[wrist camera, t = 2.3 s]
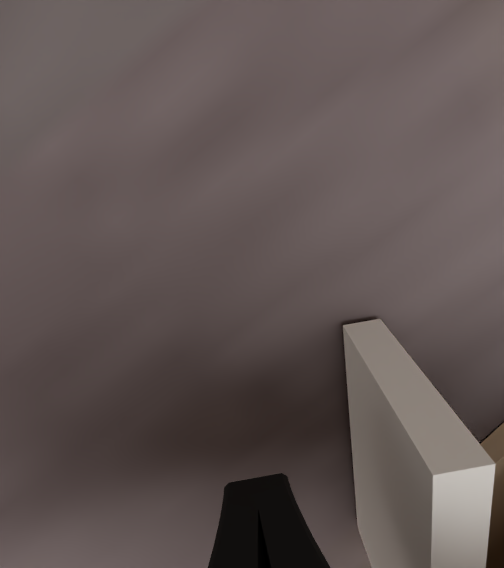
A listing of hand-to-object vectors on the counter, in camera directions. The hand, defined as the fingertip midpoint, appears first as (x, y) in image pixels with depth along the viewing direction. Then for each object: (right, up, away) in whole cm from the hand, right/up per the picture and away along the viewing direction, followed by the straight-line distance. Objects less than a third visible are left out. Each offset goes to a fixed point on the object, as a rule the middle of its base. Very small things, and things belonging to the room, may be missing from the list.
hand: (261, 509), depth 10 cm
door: (+3, +1, +3) cm, 4 cm away
